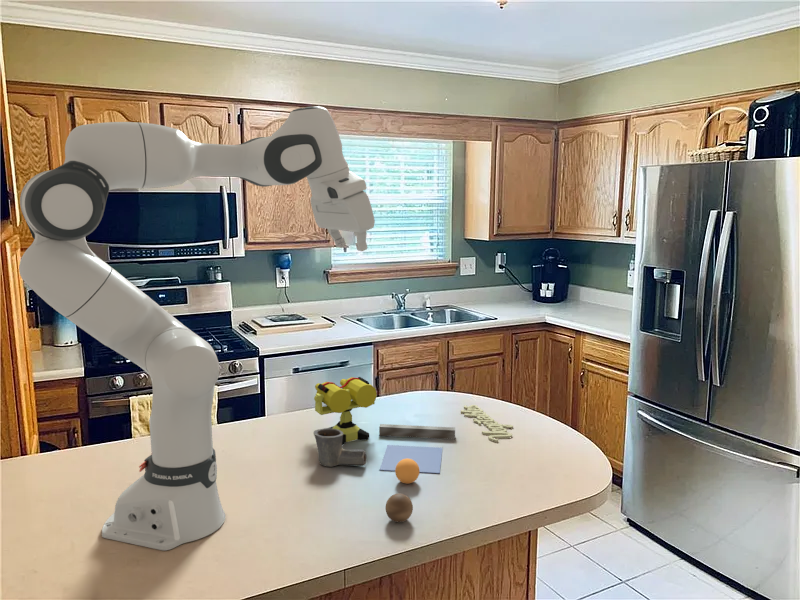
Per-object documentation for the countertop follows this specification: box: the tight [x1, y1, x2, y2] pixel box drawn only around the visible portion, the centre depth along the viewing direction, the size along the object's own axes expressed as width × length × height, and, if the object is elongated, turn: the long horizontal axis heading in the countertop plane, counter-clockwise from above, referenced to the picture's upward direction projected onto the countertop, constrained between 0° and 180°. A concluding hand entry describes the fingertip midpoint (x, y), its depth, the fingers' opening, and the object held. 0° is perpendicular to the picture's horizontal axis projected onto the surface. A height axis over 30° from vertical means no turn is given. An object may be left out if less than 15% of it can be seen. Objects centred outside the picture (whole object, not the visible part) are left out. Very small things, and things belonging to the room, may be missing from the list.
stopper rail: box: [378, 423, 456, 440], centre depth 161 cm, size 20×2×2 cm, turn 84°
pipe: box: [313, 427, 367, 468], centre depth 144 cm, size 6×13×8 cm, turn 78°
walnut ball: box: [385, 492, 414, 523], centre depth 120 cm, size 5×5×5 cm
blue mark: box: [379, 444, 443, 475], centre depth 147 cm, size 14×14×1 cm
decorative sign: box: [460, 404, 514, 443], centre depth 171 cm, size 26×1×10 cm
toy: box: [313, 376, 377, 446], centre depth 161 cm, size 17×14×15 cm
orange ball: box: [394, 458, 420, 485], centre depth 135 cm, size 5×5×5 cm
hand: (351, 248), depth 130 cm, fingers open, 8 cm apart
